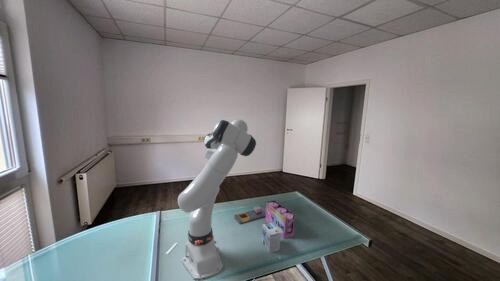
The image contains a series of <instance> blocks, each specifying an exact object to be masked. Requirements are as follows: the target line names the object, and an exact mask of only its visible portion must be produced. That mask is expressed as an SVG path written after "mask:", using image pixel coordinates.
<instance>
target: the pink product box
mask: <svg viewBox="0 0 500 281" xmlns="http://www.w3.org/2000/svg"><path fill="white" fill-rule="evenodd" d="M265 212H266V216H265V221H266V222H267V224H268V223H273V224H274V225H275V226H276V227H277V229H278V230H279V231H280V232H281V237H282V238H283V239H286V238H291V237H293V236H295V225H296V224H295V222H296V215H295V214H294V213H293V212H292V211H291V210H289V209H287V208H286V207H284V206H283V205H282V204H280V203H279V202H278V201H276V200H271V201H270V200H269V201H266V202H265Z"/></svg>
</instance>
